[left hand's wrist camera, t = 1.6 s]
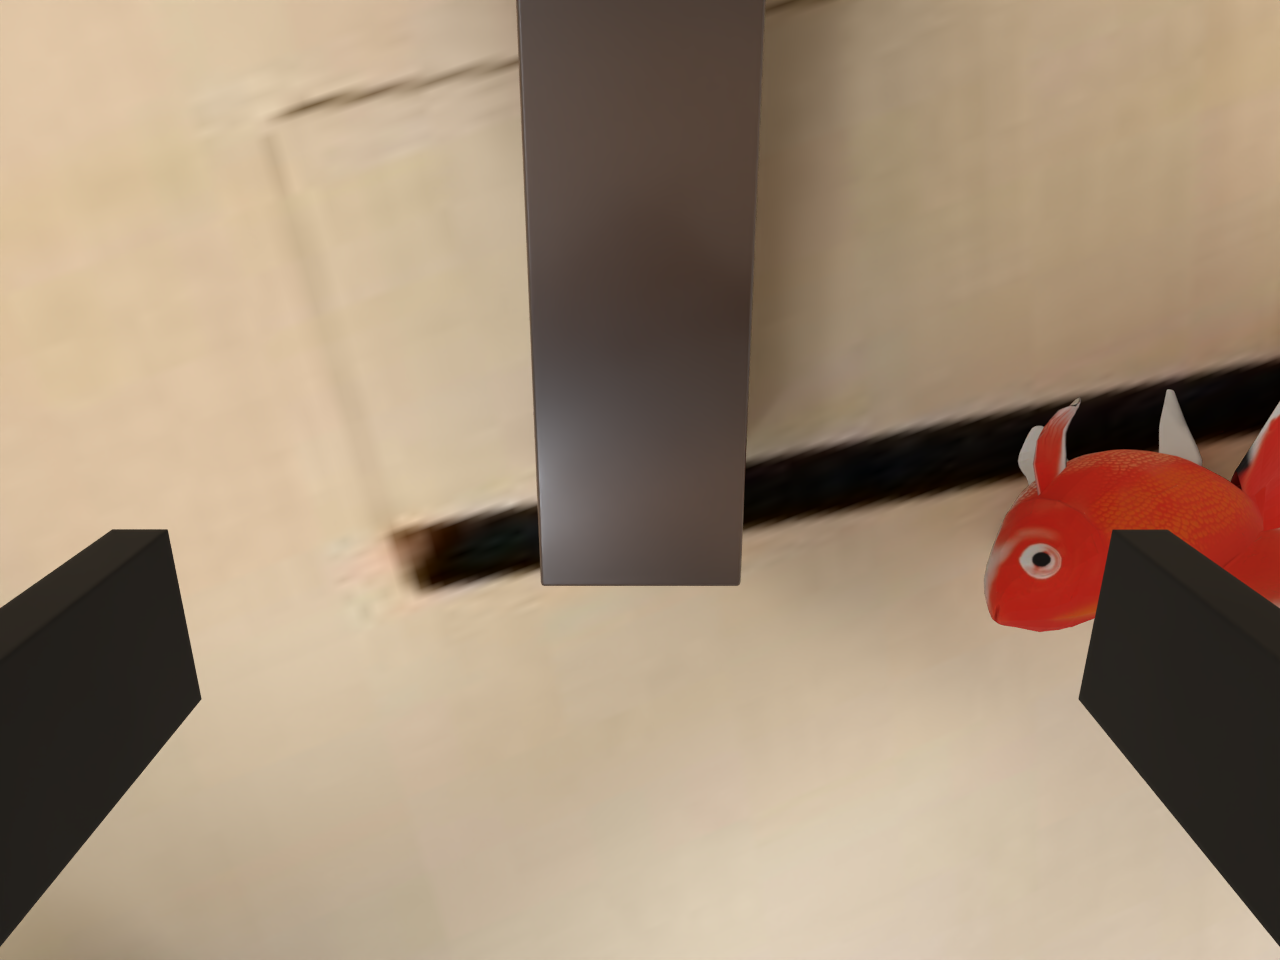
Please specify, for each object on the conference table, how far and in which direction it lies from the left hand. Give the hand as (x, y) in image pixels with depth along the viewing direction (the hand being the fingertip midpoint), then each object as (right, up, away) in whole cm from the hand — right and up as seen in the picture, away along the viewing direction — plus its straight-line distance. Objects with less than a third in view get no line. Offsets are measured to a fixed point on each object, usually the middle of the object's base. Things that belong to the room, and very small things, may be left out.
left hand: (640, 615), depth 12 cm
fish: (+17, +3, +16) cm, 24 cm away
